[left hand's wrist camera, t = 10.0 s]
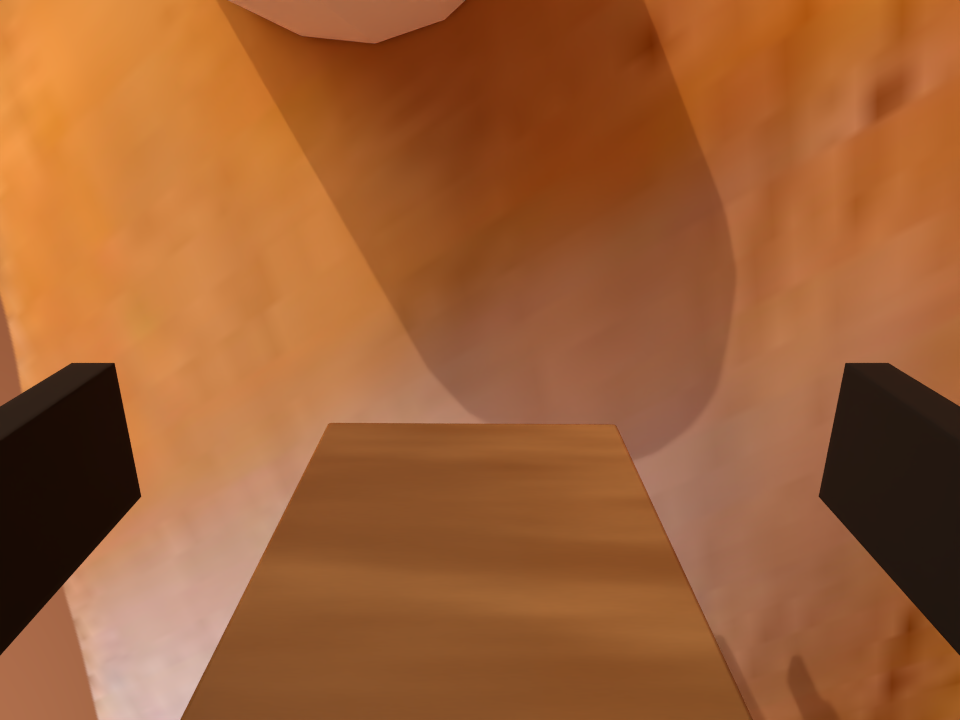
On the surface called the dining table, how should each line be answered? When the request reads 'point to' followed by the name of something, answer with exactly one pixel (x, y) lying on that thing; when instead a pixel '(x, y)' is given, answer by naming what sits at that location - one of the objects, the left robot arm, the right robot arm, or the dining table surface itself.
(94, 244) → the dining table surface
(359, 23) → the container
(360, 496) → the box
